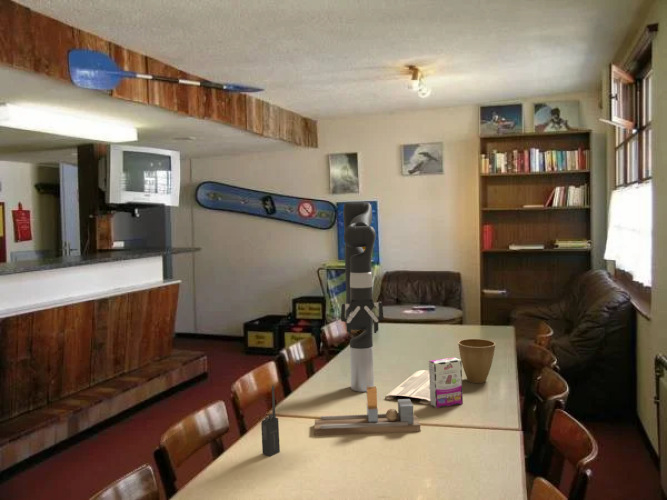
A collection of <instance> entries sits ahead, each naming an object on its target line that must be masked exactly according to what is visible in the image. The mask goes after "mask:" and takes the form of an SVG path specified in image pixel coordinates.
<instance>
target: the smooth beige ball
mask: <svg viewBox="0 0 667 500" xmlns="http://www.w3.org/2000/svg"><path fill="white" fill-rule="evenodd" d="M385 414H386V418H387V419H388V420H389V421H395V420H397V418H398V410H397V409H395V408H389V409H387V411H386V412H385Z"/></svg>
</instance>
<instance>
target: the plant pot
mask: <svg viewBox="0 0 667 500" xmlns="http://www.w3.org/2000/svg"><path fill="white" fill-rule="evenodd" d="M457 343H458V344H457V345H458V351H459V356H460V360H461V364H462V368H463V372H464V373H465V377H466V380H467V381H468V382H470V383H473V384H481V383H485V382H486V381H487V379H488V376H489V374H490V371H491V369H492V364H493V360H494V355H495V350H496V349H495V348H496V343H495V342H494V341H492V340H489V339H482V338H465V339H461V340H459V341H458V342H457Z"/></svg>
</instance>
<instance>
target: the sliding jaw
mask: <svg viewBox="0 0 667 500" xmlns="http://www.w3.org/2000/svg"><path fill="white" fill-rule="evenodd" d="M377 392H378V391H377V387H376V386H375V385H374V387H367V391H366V414H367V420H368V423H378V414H379V409H378V398H377V397H378V394H377Z"/></svg>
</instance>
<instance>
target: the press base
mask: <svg viewBox="0 0 667 500" xmlns="http://www.w3.org/2000/svg"><path fill="white" fill-rule="evenodd" d="M397 412H398V418H397V420H395V421H389V420H388V419H387V418H386V413H378V423H368V420H367V413H366V414H364V413H363V414H345V415H341V414H340V415H321V416H320V418H316V419H315V418H314V436H328V435H329V436H331V435H332V436H333V435H352V434H379V433H381V434H383V433H384V434H385V433H402V432H403V433H406V432H421V423H420V421H419V419H418V417H417V415H415V414H414V404H413V403H412V401H411V399H410V398H403V399H402V398H401V399H397Z"/></svg>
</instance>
